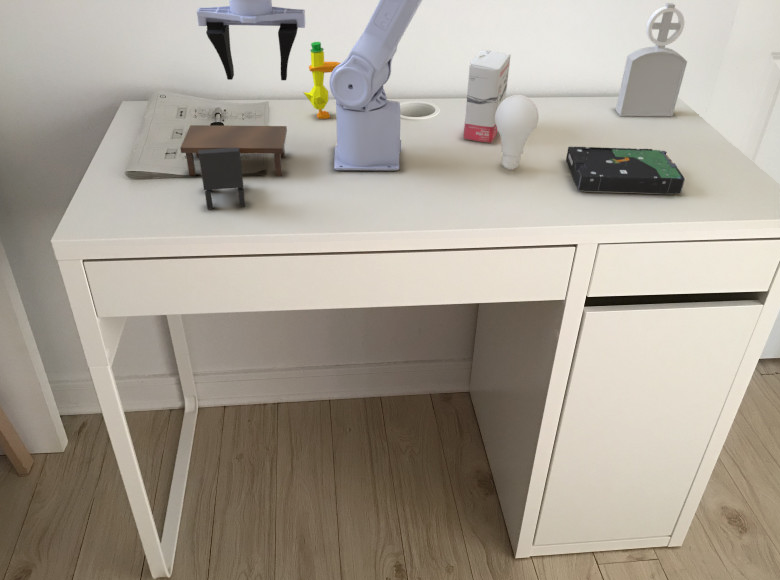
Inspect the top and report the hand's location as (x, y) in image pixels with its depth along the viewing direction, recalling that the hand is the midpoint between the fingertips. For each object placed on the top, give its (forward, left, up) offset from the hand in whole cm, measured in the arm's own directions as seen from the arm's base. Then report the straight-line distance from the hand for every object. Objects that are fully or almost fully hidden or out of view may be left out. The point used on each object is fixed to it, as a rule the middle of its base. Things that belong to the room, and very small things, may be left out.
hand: (257, 77), depth 105 cm
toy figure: (-9, -12, -11) cm, 18 cm away
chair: (+4, +17, -10) cm, 20 cm away
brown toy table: (+3, +7, -10) cm, 13 cm away
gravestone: (-65, -15, -11) cm, 68 cm away
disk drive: (-53, +11, -11) cm, 55 cm away
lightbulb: (-37, +8, -11) cm, 39 cm away
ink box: (-35, -6, -11) cm, 37 cm away
